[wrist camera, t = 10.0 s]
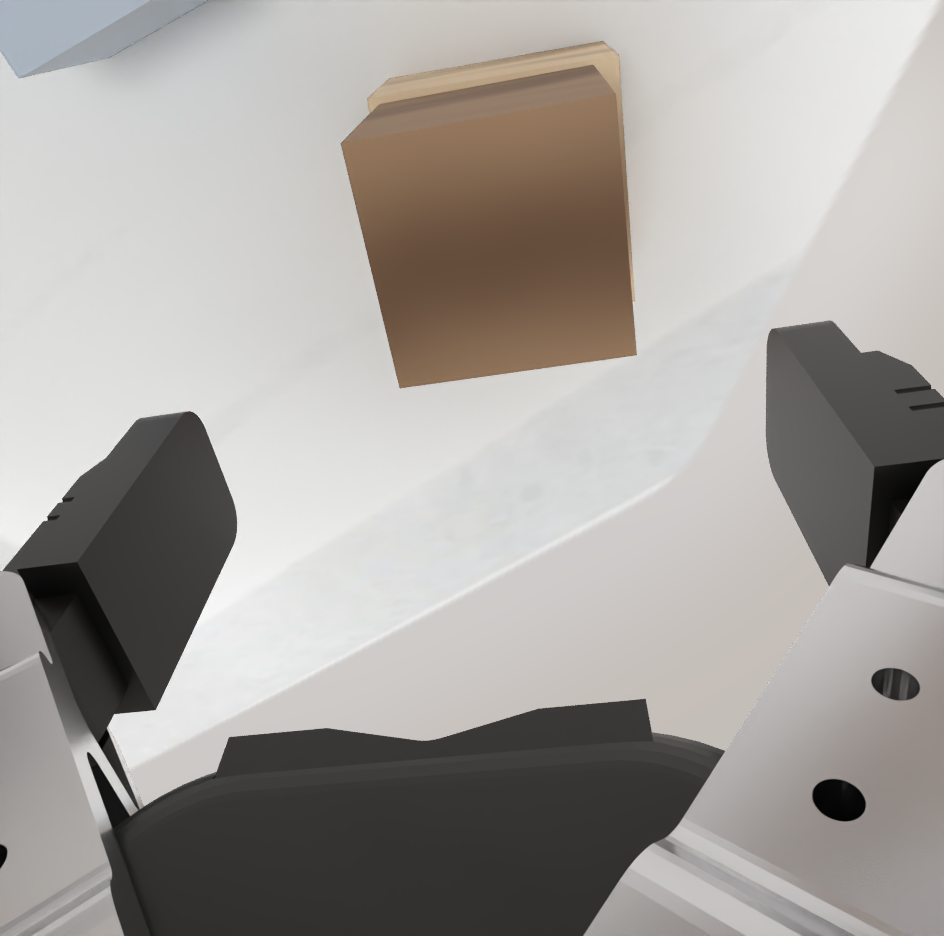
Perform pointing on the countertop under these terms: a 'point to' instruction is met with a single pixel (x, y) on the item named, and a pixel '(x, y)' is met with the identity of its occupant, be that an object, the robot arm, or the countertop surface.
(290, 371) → the countertop surface
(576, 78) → the walnut block
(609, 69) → the oak base block
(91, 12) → the slate block
